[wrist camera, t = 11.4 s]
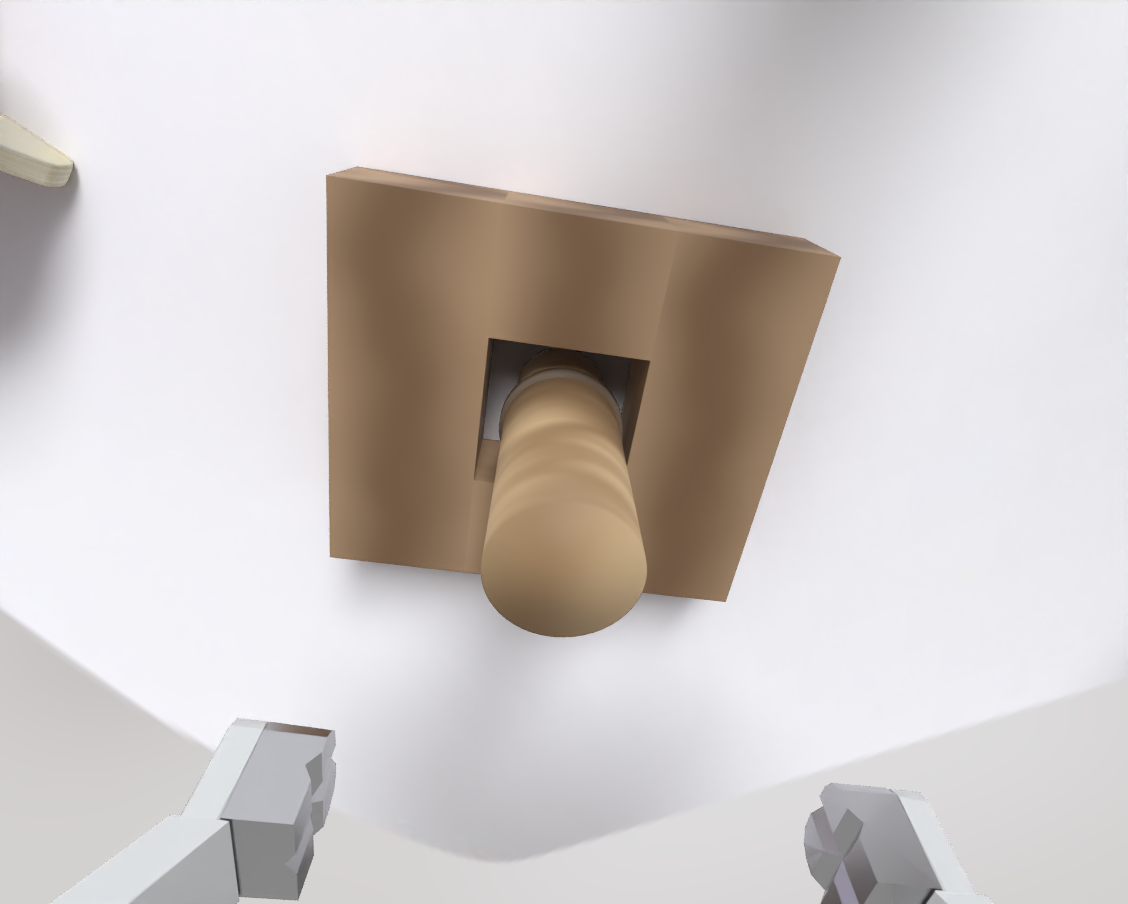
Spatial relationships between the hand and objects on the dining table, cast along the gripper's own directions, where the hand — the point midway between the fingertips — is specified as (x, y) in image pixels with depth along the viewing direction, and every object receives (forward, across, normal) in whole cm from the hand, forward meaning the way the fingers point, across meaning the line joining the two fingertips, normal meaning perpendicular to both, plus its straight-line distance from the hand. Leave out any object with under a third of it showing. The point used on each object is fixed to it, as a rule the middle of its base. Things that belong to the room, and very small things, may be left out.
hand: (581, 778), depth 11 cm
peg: (+18, 0, 0) cm, 18 cm away
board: (+18, +1, 0) cm, 18 cm away
